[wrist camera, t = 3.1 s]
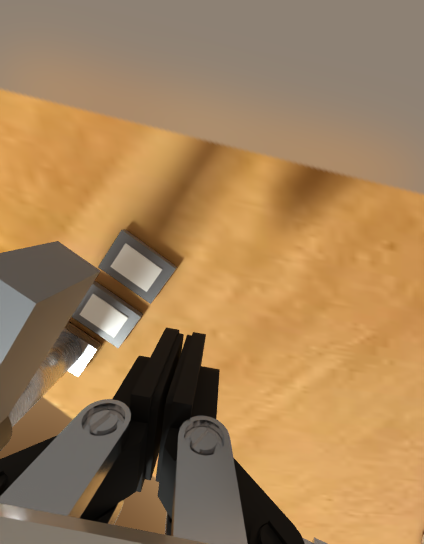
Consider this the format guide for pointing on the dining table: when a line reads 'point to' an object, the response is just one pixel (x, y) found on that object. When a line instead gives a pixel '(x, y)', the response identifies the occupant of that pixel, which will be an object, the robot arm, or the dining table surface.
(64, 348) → the bar post
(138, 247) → the label plate
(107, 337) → the label plate
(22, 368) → the swing bar
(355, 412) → the dining table surface
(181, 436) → the robot arm
